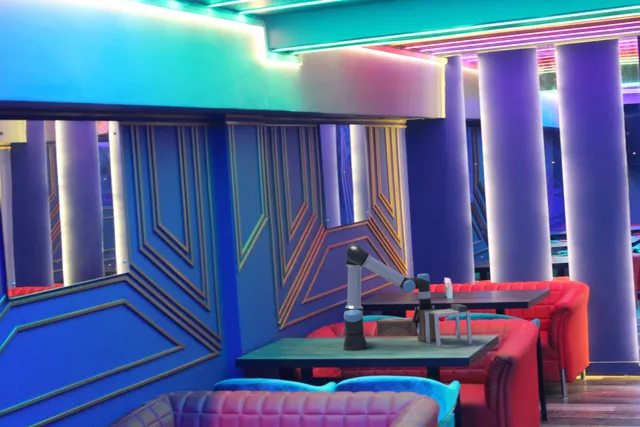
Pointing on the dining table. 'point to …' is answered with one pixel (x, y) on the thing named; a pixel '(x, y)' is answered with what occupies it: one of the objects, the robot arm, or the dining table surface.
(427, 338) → the frame
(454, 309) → the trapdoor
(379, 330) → the tissue box cover
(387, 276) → the robot arm
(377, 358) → the dining table surface
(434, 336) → the block
